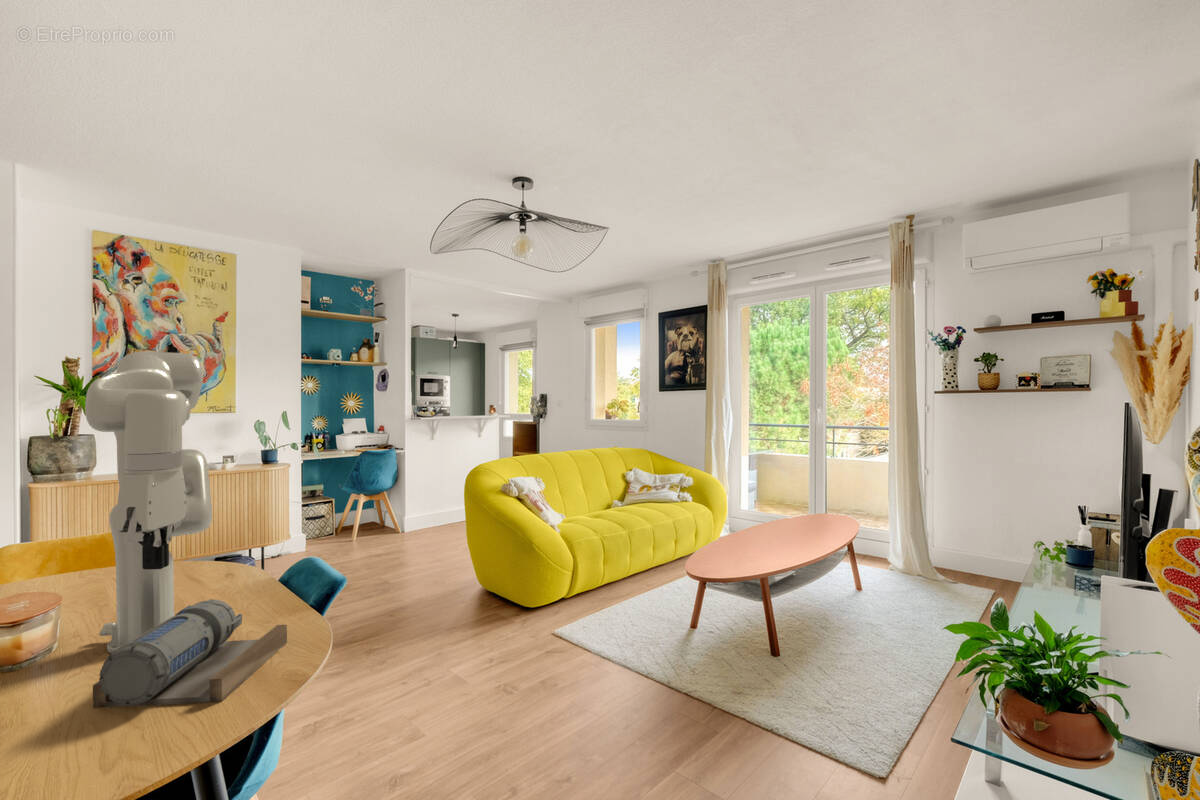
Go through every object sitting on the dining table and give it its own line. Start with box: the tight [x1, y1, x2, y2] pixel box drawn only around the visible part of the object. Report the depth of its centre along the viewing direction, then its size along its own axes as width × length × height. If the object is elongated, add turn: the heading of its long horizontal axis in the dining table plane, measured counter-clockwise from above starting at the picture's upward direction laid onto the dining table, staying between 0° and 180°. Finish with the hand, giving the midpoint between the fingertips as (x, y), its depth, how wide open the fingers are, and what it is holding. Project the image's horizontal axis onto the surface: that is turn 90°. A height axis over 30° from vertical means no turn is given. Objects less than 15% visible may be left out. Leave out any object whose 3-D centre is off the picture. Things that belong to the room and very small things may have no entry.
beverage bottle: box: [98, 599, 243, 704], centre depth 101 cm, size 10×13×25 cm
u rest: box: [92, 624, 288, 709], centre depth 102 cm, size 21×22×4 cm
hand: (155, 567), depth 91 cm, fingers closed
